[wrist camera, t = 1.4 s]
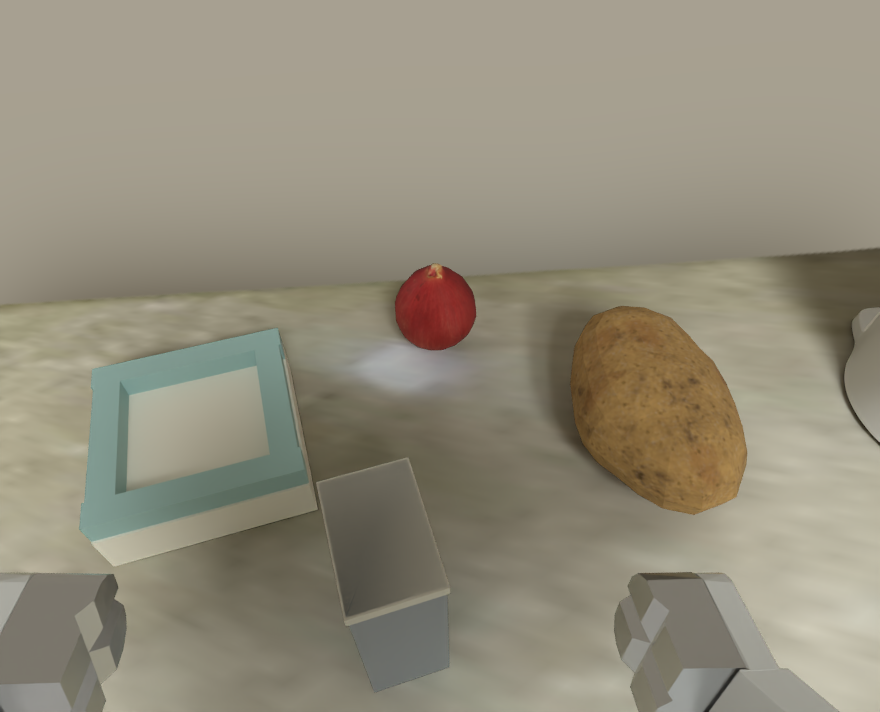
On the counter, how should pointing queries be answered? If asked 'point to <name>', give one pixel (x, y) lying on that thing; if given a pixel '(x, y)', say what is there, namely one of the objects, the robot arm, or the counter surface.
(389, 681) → the blue-grey box
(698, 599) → the robot arm
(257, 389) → the display stand
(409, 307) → the onion
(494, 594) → the counter surface
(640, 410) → the potato
